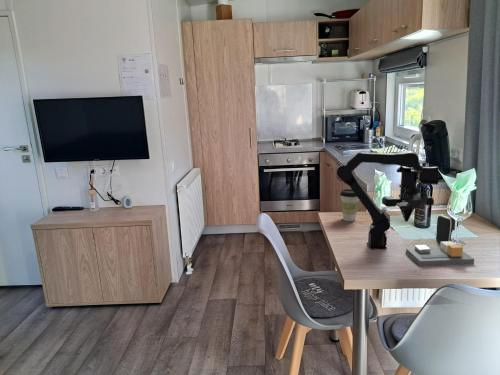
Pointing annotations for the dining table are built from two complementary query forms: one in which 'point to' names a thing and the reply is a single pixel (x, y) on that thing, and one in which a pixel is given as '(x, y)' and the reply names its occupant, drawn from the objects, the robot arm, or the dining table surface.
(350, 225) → the dining table surface
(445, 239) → the battery charger
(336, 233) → the dining table surface
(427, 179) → the robot arm
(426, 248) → the grey button
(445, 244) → the cream button
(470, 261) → the panel
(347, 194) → the coffee cup
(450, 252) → the block slider
